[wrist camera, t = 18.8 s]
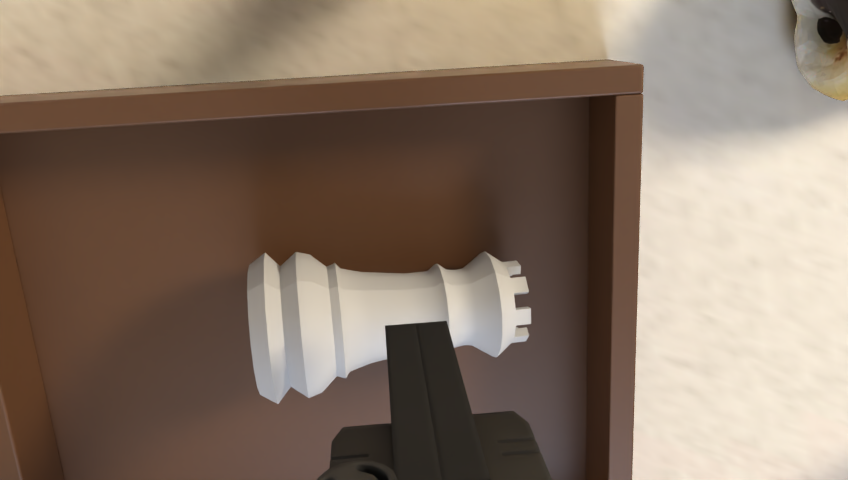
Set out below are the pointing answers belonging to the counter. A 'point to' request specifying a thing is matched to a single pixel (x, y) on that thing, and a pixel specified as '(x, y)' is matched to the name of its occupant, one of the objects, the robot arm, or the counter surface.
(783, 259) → the counter surface
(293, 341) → the rook chess piece
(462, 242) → the tray
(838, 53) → the pastry
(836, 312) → the counter surface
